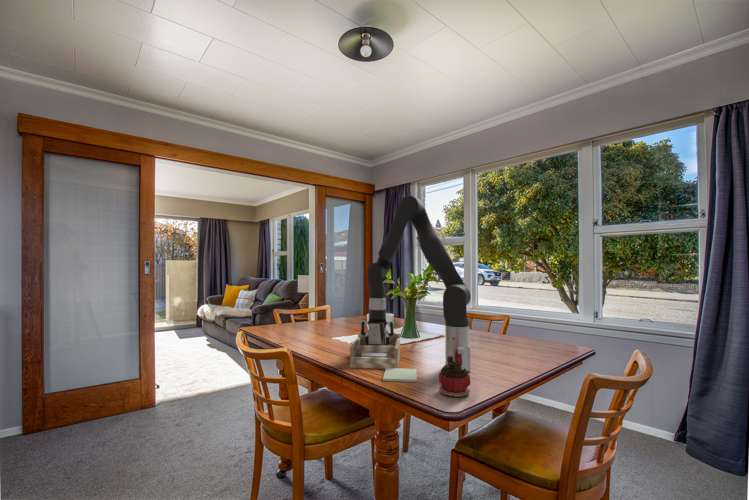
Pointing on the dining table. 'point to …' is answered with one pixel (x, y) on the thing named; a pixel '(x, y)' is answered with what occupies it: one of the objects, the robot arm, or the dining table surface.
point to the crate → (378, 363)
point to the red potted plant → (454, 375)
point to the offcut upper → (374, 355)
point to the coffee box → (377, 334)
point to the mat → (400, 375)
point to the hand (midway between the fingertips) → (377, 345)
